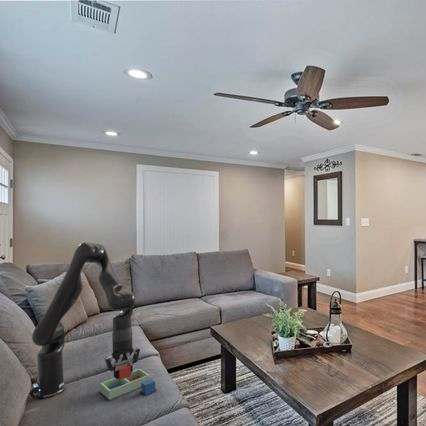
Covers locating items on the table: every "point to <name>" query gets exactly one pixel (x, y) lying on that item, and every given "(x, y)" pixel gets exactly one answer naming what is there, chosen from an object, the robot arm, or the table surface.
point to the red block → (124, 371)
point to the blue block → (148, 386)
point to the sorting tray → (123, 384)
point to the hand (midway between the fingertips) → (123, 375)
